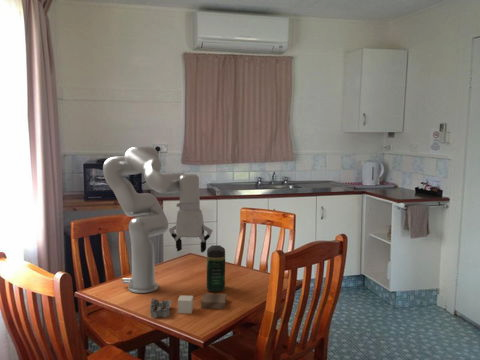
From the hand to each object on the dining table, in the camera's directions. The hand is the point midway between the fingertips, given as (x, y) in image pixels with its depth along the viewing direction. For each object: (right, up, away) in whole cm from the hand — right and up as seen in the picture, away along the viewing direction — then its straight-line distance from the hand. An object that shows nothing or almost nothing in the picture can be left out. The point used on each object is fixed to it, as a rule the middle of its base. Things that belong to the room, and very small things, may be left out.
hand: (191, 250), depth 171 cm
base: (+8, -22, +4) cm, 24 cm away
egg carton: (-11, -23, -4) cm, 25 cm away
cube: (-2, -22, -2) cm, 22 cm away
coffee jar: (+8, -20, +21) cm, 30 cm away
